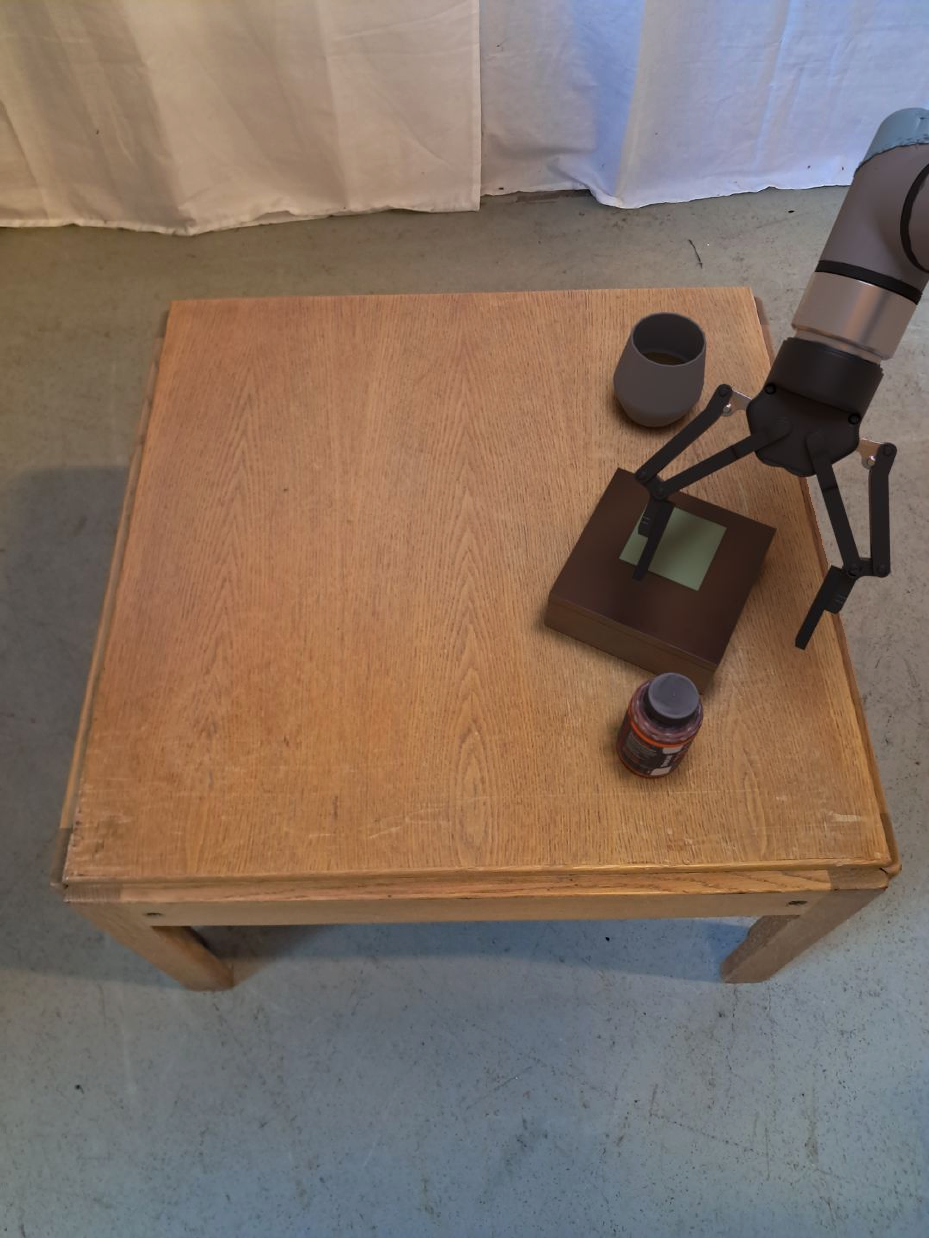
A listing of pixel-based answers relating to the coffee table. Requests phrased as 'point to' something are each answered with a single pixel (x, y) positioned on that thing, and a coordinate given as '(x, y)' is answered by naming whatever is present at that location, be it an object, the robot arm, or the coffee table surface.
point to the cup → (661, 369)
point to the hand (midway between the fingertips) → (717, 610)
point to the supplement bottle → (660, 725)
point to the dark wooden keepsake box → (659, 582)
